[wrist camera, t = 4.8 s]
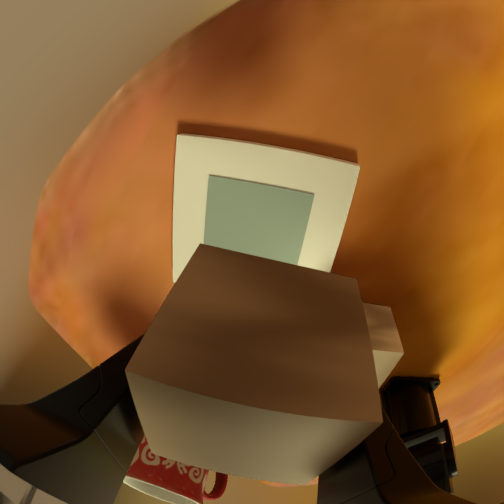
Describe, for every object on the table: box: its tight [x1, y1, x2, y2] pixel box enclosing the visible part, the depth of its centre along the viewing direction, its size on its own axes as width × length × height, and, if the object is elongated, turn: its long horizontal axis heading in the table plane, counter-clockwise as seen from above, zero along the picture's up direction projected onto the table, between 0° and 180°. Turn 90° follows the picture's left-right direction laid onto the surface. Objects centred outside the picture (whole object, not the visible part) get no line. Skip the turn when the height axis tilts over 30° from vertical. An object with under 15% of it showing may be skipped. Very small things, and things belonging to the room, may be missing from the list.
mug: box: [123, 434, 228, 504], centre depth 26 cm, size 13×9×14 cm
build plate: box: [173, 133, 360, 283], centre depth 19 cm, size 11×11×1 cm
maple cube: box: [362, 302, 404, 388], centre depth 21 cm, size 5×5×5 cm
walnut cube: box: [125, 243, 383, 485], centre depth 8 cm, size 5×5×5 cm
